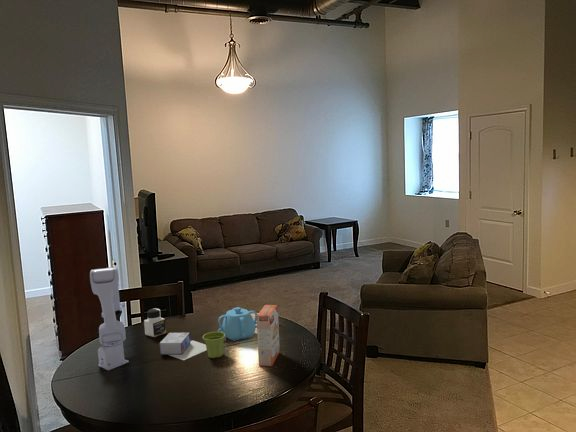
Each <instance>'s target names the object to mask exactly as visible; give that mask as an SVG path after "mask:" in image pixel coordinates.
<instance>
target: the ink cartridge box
mask: <svg viewBox="0 0 576 432" xmlns="http://www.w3.org/2000/svg"><path fill="white" fill-rule="evenodd" d="M190 341H191V333H190V332H169V333H168V334H167V335H166V336H165V337H163V339H162V340H160V342H159V349H160V350H159V351H160V355H167V354H183V353H184V351H185V350H186V348H187V347H188V346H189V344H190Z"/></svg>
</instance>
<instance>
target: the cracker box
mask: <svg viewBox="0 0 576 432" xmlns="http://www.w3.org/2000/svg"><path fill="white" fill-rule="evenodd" d="M257 314H258V315H257V321H256V322H257V324H256V325H257V328H256V330H257V331H256V332H257V334H256V335H257V352H258V353H257V355H258V366H259V367H273V366H274V364H275V361H276V359H277V358H278V356H279V354H280V330H279V329H280V327H279V306H278V305H276V304H265V305H264V306H263V307H262V309H260V310H259V312H257Z"/></svg>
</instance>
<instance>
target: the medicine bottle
mask: <svg viewBox="0 0 576 432" xmlns="http://www.w3.org/2000/svg"><path fill="white" fill-rule="evenodd" d="M146 313H147V319H144V320H143V325H144V334H145V335H146V336H149V337H153V338H156V337H159V336H161V335H164V334H166V333H167V328H166V326H167V325H166V318H163V317H161V315H162V314H161V309H160V308H156V307H155V308H151V309H148V310H147V312H146Z"/></svg>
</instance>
